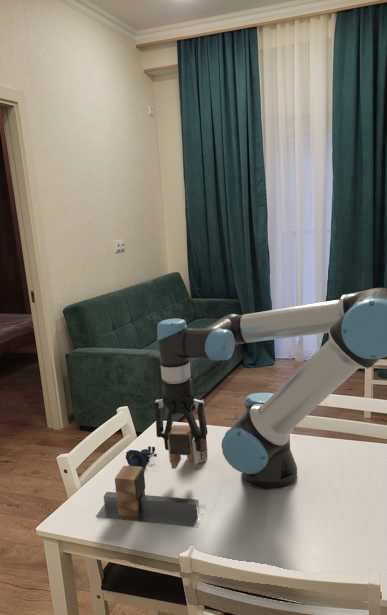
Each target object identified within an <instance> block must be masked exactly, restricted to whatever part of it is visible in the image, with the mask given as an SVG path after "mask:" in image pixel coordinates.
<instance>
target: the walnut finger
mask: <svg viewBox="0 0 387 615" xmlns="http://www.w3.org/2000/svg"><path fill="white" fill-rule="evenodd" d="M168 438H169V448H170V457H171V463H170V464H171V465H170V466H171V469H175V470H176V469H177V467H178V466H179V465H180V464H179V463H180V462H181V460H182V456H187V455H188V459H187V462H188V469H189V470H195V467H196V466H197V464H194V455H193V445H192V441H193V439H194V436H193V434H192V431H191V429H190V427H189V425H185V424H184V425H183V424H182V425H181V424H172V428H171V429H170V431H169V433H168Z"/></svg>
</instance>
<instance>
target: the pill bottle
mask: <svg viewBox="0 0 387 615" xmlns="http://www.w3.org/2000/svg"><path fill="white" fill-rule="evenodd" d="M195 421H196V423H197V425H198V428H199V430H200V426H199V420H198V419H195ZM186 425H189V424H188V422H187V423H186ZM201 443H202V448H201V450H200V451H199V461H198V463H197V464H200V463H203V462H205V461H207V459H208V444H207V437H206V438H205V439H203V438H202V439H201ZM186 458H187V460H188V455H186Z"/></svg>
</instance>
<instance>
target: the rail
mask: <svg viewBox="0 0 387 615" xmlns="http://www.w3.org/2000/svg"><path fill="white" fill-rule="evenodd" d="M138 505H139V516H138V517H131V516H121V515H118V505H117V496H116V491H115V492H113V491H106V492H105V493H104V495H103V505H102V507H101V508H100V509H99V511H98V512H97V514H96V515H95V518H101V519H109V520H120V521H128V522H129V521H131V522H139V523H149V524H159V525H168V526H177V527H179V526H181V527H187V528H188V527H189V528H197V529H198V528H199V526H200V524H201V520H202V519H203V515H204V514H205V510H206V507H207V504H205V503H200V501H199V499H194V498H184V497H173V496H171V497H170V496H161V495H160V496H158V495H152V494H151V495H149V494H145V495H141V496H140V498H139V500H138Z"/></svg>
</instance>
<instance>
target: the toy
mask: <svg viewBox="0 0 387 615" xmlns="http://www.w3.org/2000/svg"><path fill="white" fill-rule="evenodd" d="M155 451H156V447H155V446H147V448H143V449H141V451H140V450H135V449H130V450H127V451H126V453H125V459H126V462H127V464H128V466H138V467H143V468H146V467H147V466H148V461H149V459H150V458H152V457H155V458H156V457H157V455H158V454H157V453H155Z"/></svg>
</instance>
